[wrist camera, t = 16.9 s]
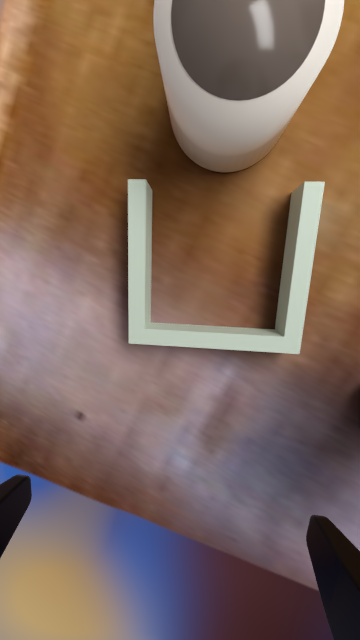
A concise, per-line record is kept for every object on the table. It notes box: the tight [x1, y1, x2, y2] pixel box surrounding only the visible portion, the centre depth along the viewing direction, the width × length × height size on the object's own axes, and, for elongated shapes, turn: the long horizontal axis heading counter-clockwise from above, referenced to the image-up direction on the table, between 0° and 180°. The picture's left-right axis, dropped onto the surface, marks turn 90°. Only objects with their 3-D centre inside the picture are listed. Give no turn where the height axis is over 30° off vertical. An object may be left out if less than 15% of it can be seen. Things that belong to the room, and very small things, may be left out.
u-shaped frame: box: [128, 179, 325, 354], centre depth 18 cm, size 12×11×2 cm
